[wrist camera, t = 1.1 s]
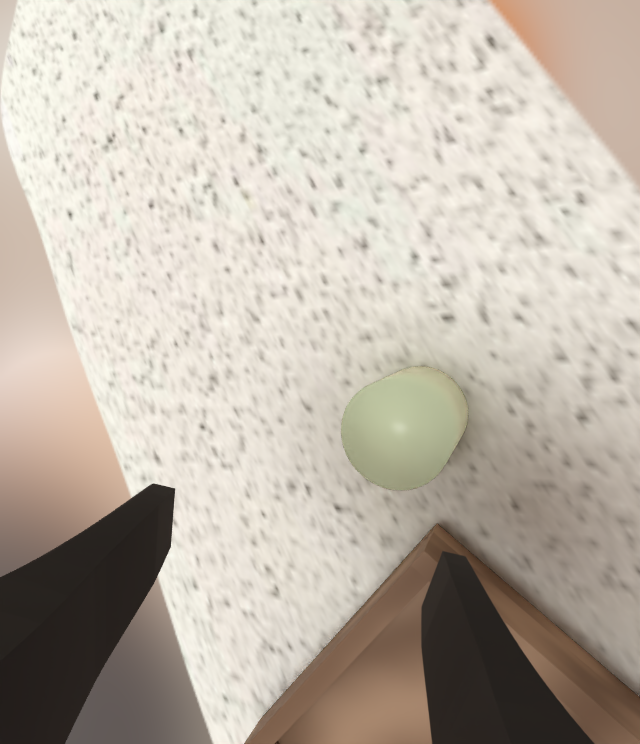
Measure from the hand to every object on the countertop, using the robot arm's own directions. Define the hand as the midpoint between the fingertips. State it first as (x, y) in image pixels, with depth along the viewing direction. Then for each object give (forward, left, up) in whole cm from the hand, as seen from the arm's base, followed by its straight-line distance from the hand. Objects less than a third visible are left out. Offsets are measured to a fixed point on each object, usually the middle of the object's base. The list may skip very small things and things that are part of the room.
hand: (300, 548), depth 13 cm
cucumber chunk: (0, -1, -13) cm, 13 cm away
